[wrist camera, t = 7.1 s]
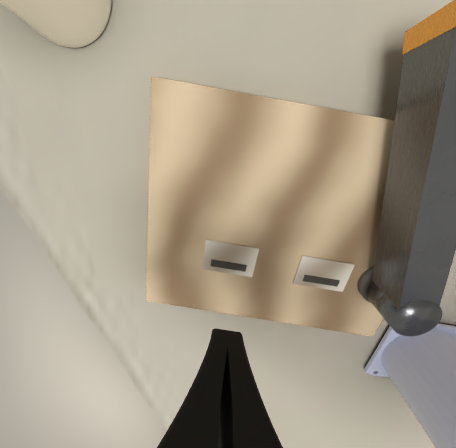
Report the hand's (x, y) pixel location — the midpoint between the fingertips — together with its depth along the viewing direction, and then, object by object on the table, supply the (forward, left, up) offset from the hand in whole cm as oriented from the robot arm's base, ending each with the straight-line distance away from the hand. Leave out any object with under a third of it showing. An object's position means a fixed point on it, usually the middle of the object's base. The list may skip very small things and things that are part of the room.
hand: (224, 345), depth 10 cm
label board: (-4, -3, -9) cm, 11 cm away
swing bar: (-11, -7, -7) cm, 15 cm away
